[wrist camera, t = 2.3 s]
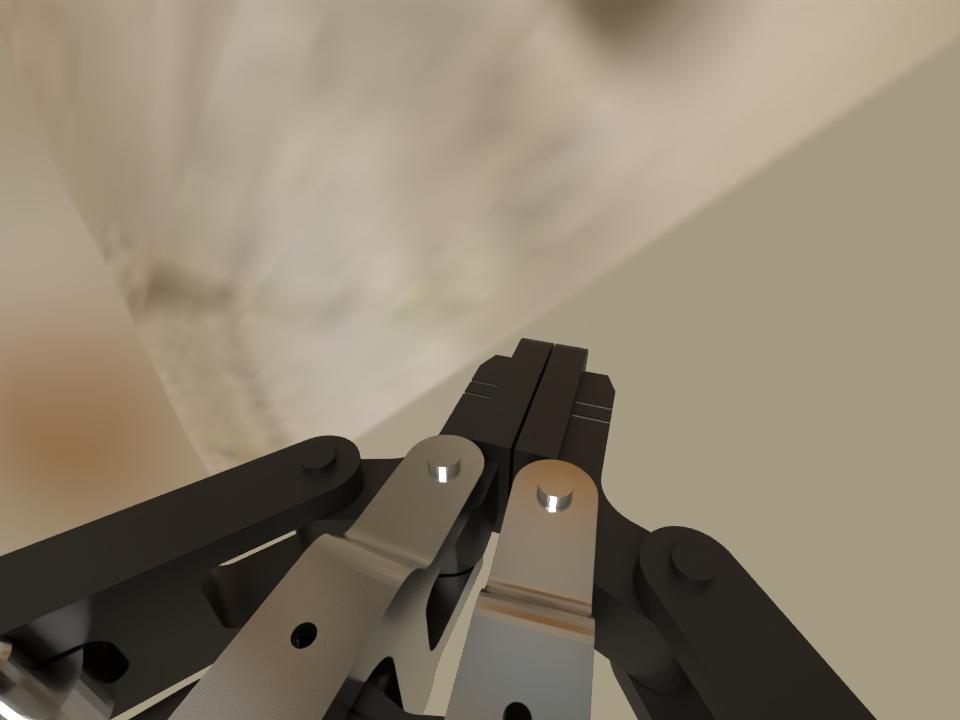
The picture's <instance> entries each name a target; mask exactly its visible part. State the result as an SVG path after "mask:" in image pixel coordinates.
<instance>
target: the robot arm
mask: <svg viewBox="0 0 960 720" xmlns="http://www.w3.org/2000/svg"><path fill="white" fill-rule="evenodd" d="M587 357H588V349H584V348H578V347H573V346H567V345H561V344H556V345H555V346H554V344H553V343H548V342H543V341H538V340H531V339H526V338H522V339H521V340H520V342H519V344H518V346H517V348H516V350H515V352H514V354H513V356H512V358H511V357H505V356H500V355H495V356H494V357H492V358H491V359H489V360H487V361H486V362H484V363H483V364H481V365H480V367H479V368H478V370H477V372H476V373H475V375H474V377H473V378H472V382H470V383H469V385H468V387H467V388H466V390H465V394H463V395H462V397H461V398H460V400H459V402H458V403H457V405H456V407H455V409H454V410H453V412H452V414H451V415H450V417H449V419H448V420H447V422H446V424H445V425H444V427H443V429H442V430H441V432H440V434H439V435H438V436H433V437H429V438H427V439H424V440H423V441H421V442H419V443H418V444H416V445H415V446H414V447H413V448H412V449H411V450H410V451H409V452H408V454H407V455H406V456H405V457H403V458H396V459H361V458H360V453H359V450H358V448H357V447H356V445H355V444H354V443H353V442H351V441H350V440H348V439H346V438H343V437H339V436H319V437H314V438H311V439H308V440H305V441H303V442H300V443H297V444H295V445H292V446H289V447H287V448H284V449H282V450H279V451H276V452H274V453H271V454H268V455H266V456H263V457H260V458H258V459H255V460H253V461H250V462H247V463H245V464H242V465H239V466H237V467H234V468H232V469H229V470H226V471H224V472H221V473H218V474H216V475H213V476H210V477H208V478H205V479H203V480H200V481H197V482H195V483H192V484H189V485H187V486H184V487H182V488H179V489H176V490H174V491H171V492H169V493H166V494H163V495H160V496H158V497H155V498H153V499H150V500H148V501H145V502H142V503H140V504H137V505H134V506H132V507H129V508H126V509H124V510H121V511H118V512H116V513H113V514H111V515H108V516H105V517H103V518H100V519H97V520H95V521H92V522H90V523H87V524H84V525H82V526H79V527H76V528H74V529H71V530H69V531H66V532H63V533H61V534H58V535H55V536H53V537H50V538H47V539H45V540H42V541H40V542H37V543H34V544H32V545H29V546H26V547H24V548H21V549H18V550H16V551H13V552H11V553H8V554H5V555H3V556H0V720H110V719H112V718H114V717H116V716H118V715H120V714H121V713H123V712H125V711H127V710H129V709H131V708H132V707H134V706H136V705H138V704H140V703H142V702H143V701H145V700H147V699H149V698H151V697H153V696H154V695H156V694H158V693H160V692H162V691H163V690H165V689H167V688H169V687H171V686H173V685H175V684H176V683H178V682H180V681H182V680H184V679H186V678H188V677H189V676H191V675H193V674H195V673H197V672H199V671H200V670H202V669H204V668H206V667H208V666H209V665H211V664H213V665H212V666H211V667H210V668H209V670H208V671H207V672H206V673H205V674H204V676H203V677H202V678H200V679H198V680H196V681H195V682H193V683H191V684H189V685H187V686H185V687H184V688H182V689H180V690H178V691H177V692H175V693H173V694H172V695H170V696H168V697H167V698H165V699H163V700H161V701H160V702H158V703H156V704H155V705H153V706H151V707H149V708H148V709H146V710H144V711H143V712H141V713H139V714H137V715H136V716H134V717H132V718H131V719H129V720H590V715H591V696H592V677H593V660H594V659H593V658H594V649H595V650H597V651H598V652H600V653H601V654H602V655H604V656H605V657H606V658H608V659H609V660H610V663H611V667H612V670H613V672H614V675H615V677H616V679H617V681H618V683H619V684H620V686H621V688H622V690H623V692H624V694H625V696H626V698H627V700H628V702H629V703H630V705H631V707H632V709H633V711H634V713H635V715H636V717H637V719H638V720H876V718H875V717H874V716H873V715H872V714H871V713H870V712H869V710H868V709H867V708H866V707H865V706H864V705H863V704H862V702H861V701H860V700H859V699H858V698H857V697H856V696H855V694H854V693H853V692H852V691H851V690H850V689H849V688H848V686H847V685H846V684H845V683H844V682H843V681H842V680H841V678H840V677H839V676H838V675H837V674H836V673H835V672H834V671H833V669H832V668H831V667H830V666H829V665H828V664H827V663H826V661H825V660H824V659H823V658H822V657H821V656H820V655H819V653H818V652H817V651H816V650H815V649H814V648H813V647H812V645H811V644H810V643H809V642H808V641H807V640H806V639H805V637H804V636H803V635H802V634H801V633H800V632H799V631H798V630H797V628H796V627H795V626H794V625H793V624H792V623H791V622H790V620H789V619H788V618H787V617H786V616H785V615H784V614H783V612H782V611H781V610H780V609H779V608H778V607H777V606H776V604H775V603H774V602H773V601H772V600H771V599H770V598H769V597H768V595H767V594H766V593H765V592H764V591H763V590H762V589H761V587H760V586H758V584H757V583H756V582H755V581H754V579H753V578H752V577H751V576H750V575H749V574H748V573H747V571H746V570H745V569H744V568H743V567H742V566H741V565H740V564H739V562H737V560H736V559H735V558H734V557H733V556H732V554H731V553H729V551H728V550H727V549H726V548H725V547H723V546H722V545H721V544H720V543H719V542H717V541H716V540H714V539H713V538H711V537H710V536H708V535H706V534H704V533H702V532H700V531H697V530H694V529H691V528H686V527H680V526H669V527H663V528H659V529H657V530H655V531H653V532H652V533H651V532H649V531H647V530H646V529H644V528H642V527H640V526H639V525H637V524H635V523H633V522H631V521H630V520H628V519H627V518H625V517H624V516H622V515H621V514H620V513H619V512H617V511H616V510H615V508H613V506H612V505H611V504H610V503H609V501H608V500H607V498H606V496H605V495H604V492H603V489H602V485H601V474H602V468H603V462H604V456H605V450H606V444H607V438H608V431H609V426H610V420H611V414H612V408H613V402H614V396H615V390H614V388H613V385H612V383H611V381H610V379H609V377H608V376H607V375H602V374H597V373H591V372H586V371H585V370H586V364H587ZM294 530H295V531H296V534H295V535H293V536H291V537H288V538H286V539H284V540H282V541H280V542H278V543H275V544H273V545H271V546H269V547H267V548H265V549H263V550H260V551H258V552H256V553H254V554H252V555H250V556H248V557H246V558H243V559H241V560H239V561H237V562H235V563H232V564H229V565H224V566H218V565H220V564H222V563H224V562H226V561H229V560H231V559H233V558H235V557H237V556H239V555H242V554H244V553H246V552H248V551H250V550H252V549H255V548H257V547H259V546H261V545H263V544H265V543H268V542H269V541H272V540H274V539H276V538H278V537H281V536H283V535H285V534H287V533H289V532H291V531H294ZM492 531H493V532H496V533H499V534H500V536H499V540H498V544H497V547H496V551H495V555H494V559H493V563H492V567H491V571H490V575H489V579H488V582H487V585H486V587H485V589H482V590H481V591H480V593H479V596H478V598H477V601H476V604H475V608H474V611H473V615H472V619H471V622H470V626H469V630H468V633H467V637H466V641H465V645H464V648H463V652H462V656H461V660H460V663H459V667H458V671H457V674H456V678H455V682H454V686H453V690H452V693H451V697H450V701H449V705H448V708H447V712H446V715H445V717H443V716H430V715H423V713H424V710H425V708H426V705H427V702H428V699H429V696H430V693H431V690H432V685H433V681H434V676H435V672H436V668H437V665H438V662H439V660H440V657H441V655H442V652H443V650H444V648H445V646H446V644H447V641H448V639H449V637H450V635H451V633H452V631H453V628H454V626H455V624H456V622H457V620H458V618H459V615H460V613H461V611H462V609H463V607H464V604H465V602H466V600H467V598H468V595H469V594H470V591H471V589H472V587H473V585H474V583H475V580H476V578H477V576H478V574H479V572H480V570H481V567H482V563H483V554H484V552H485V549H486V547H487V544H488V541H489V539H490V536H491V533H492Z"/></svg>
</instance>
